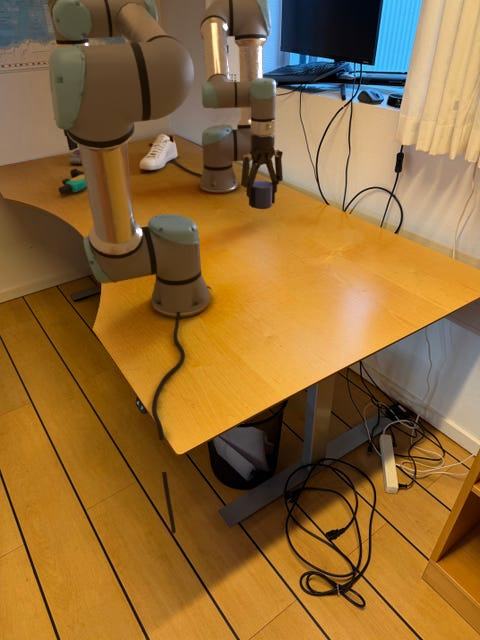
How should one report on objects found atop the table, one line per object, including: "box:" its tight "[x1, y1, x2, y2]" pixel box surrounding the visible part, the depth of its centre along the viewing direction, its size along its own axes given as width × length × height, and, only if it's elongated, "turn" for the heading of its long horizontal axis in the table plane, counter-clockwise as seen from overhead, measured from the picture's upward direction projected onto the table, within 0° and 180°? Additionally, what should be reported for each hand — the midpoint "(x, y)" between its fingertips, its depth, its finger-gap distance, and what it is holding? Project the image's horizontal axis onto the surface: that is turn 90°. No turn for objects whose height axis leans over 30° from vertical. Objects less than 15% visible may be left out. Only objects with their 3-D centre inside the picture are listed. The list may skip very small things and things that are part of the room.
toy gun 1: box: [67, 148, 82, 165], centre depth 221 cm, size 4×19×15 cm
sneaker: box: [139, 133, 179, 171], centre depth 214 cm, size 10×29×12 cm, turn 163°
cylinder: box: [253, 180, 273, 210], centre depth 160 cm, size 7×7×7 cm
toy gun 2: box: [58, 168, 87, 196], centre depth 194 cm, size 4×26×15 cm
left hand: (93, 152), depth 128 cm, fingers open, 13 cm apart
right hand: (261, 204), depth 162 cm, fingers closed on cylinder, 7 cm apart
